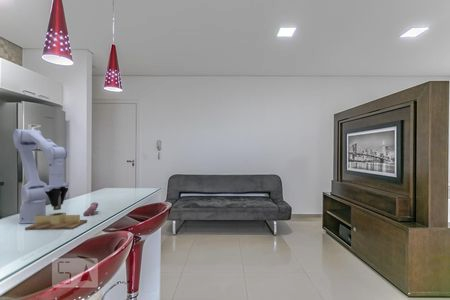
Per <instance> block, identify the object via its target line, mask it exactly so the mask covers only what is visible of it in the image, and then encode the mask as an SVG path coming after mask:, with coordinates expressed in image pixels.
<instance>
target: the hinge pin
mask: <svg viewBox="0 0 450 300" xmlns="http://www.w3.org/2000/svg"><path fill="white" fill-rule="evenodd" d="M61 193H62V191H61V192H60V194H59V198H58V206H56V207H52V209H53V211H59V210H62V205H61Z"/></svg>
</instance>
